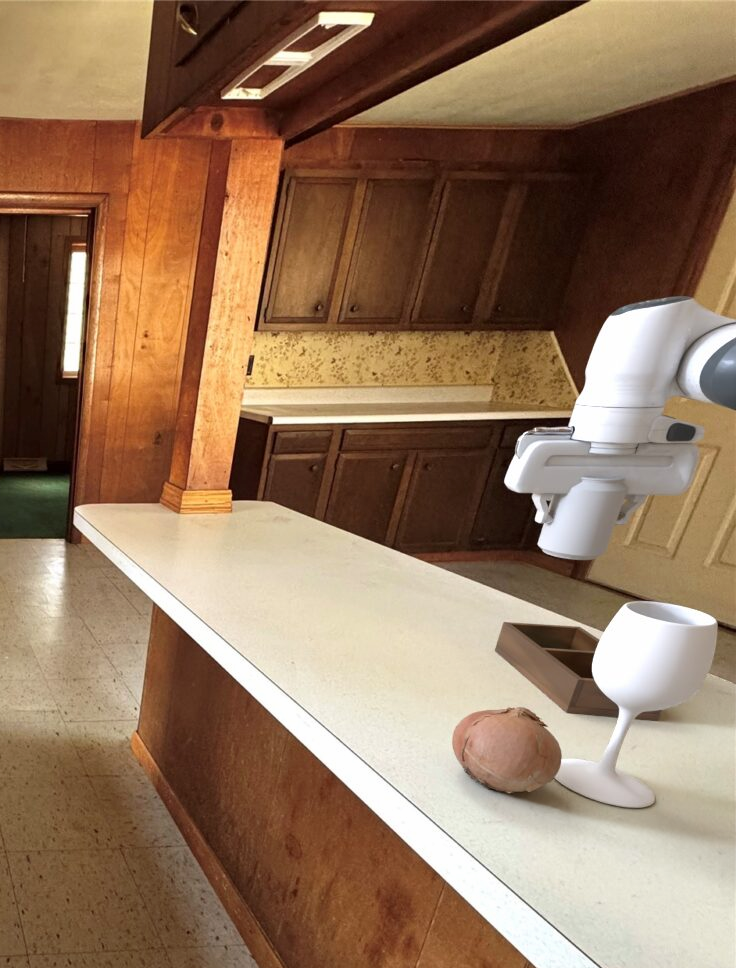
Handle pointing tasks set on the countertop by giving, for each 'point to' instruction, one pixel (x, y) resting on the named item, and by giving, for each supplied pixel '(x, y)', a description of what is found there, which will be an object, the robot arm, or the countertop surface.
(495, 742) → the onion
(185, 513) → the countertop surface
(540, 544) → the can
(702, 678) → the wineglass
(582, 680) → the wooden compartment tray
